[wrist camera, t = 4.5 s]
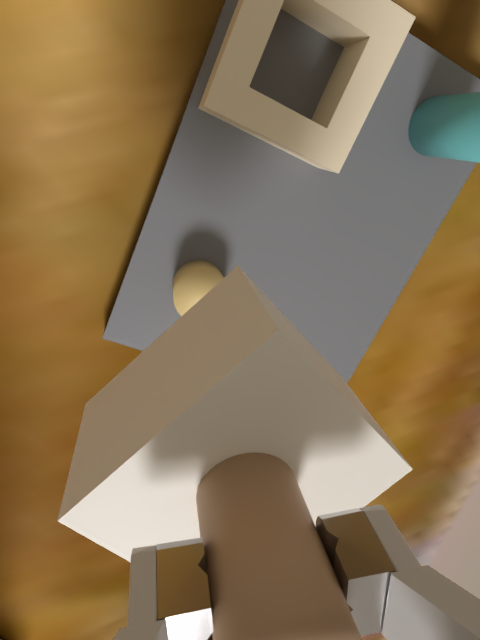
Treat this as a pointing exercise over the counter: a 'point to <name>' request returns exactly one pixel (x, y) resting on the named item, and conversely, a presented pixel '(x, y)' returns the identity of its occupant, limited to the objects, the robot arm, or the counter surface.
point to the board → (298, 174)
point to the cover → (233, 463)
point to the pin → (447, 127)
